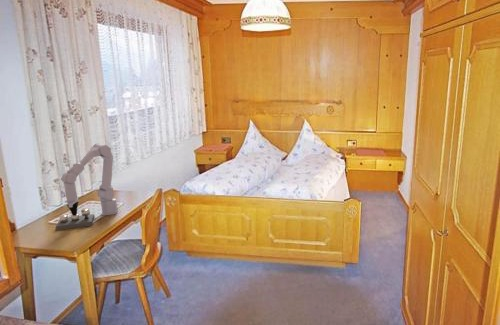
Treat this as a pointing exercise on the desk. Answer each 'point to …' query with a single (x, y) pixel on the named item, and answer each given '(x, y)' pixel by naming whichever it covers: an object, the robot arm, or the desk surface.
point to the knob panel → (76, 222)
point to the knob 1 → (64, 218)
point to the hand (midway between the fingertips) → (74, 214)
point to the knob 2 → (85, 212)
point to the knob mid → (75, 217)
